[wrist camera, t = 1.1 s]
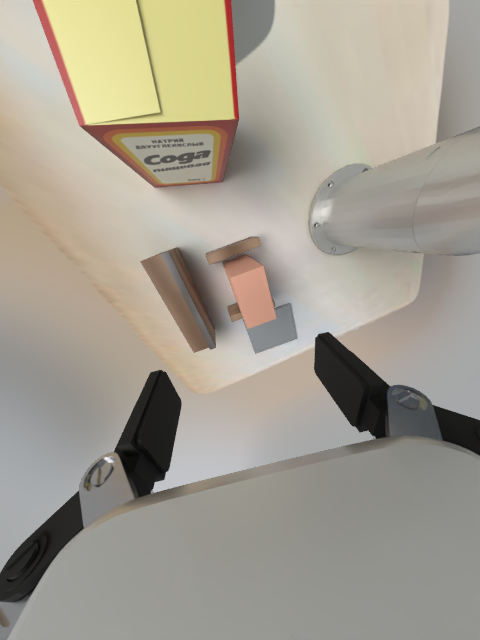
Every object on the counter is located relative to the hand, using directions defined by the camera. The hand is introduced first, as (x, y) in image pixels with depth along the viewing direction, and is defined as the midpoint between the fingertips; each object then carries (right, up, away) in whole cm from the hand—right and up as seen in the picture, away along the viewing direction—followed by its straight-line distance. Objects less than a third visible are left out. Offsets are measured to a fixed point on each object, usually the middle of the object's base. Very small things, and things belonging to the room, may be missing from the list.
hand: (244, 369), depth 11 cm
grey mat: (+6, +1, +27) cm, 27 cm away
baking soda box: (-8, +25, +12) cm, 29 cm away
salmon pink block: (0, +11, +21) cm, 23 cm away
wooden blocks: (-4, +9, +21) cm, 23 cm away
